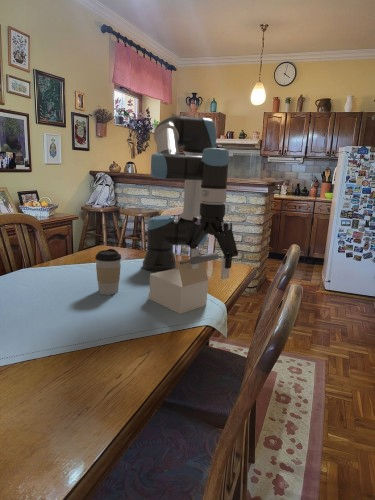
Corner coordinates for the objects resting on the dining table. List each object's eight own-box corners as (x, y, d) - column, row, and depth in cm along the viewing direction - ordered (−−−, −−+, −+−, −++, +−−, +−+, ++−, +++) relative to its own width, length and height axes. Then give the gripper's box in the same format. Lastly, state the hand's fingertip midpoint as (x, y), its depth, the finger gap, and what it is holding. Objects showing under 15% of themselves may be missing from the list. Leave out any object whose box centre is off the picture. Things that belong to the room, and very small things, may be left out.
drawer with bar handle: (201, 255, 118) (218, 251, 113) (207, 280, 118) (223, 277, 112) (177, 260, 111) (193, 256, 105) (182, 286, 111) (199, 284, 105)
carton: (174, 291, 132) (175, 267, 130) (206, 305, 121) (208, 280, 118) (148, 298, 124) (148, 273, 122) (180, 314, 112) (181, 287, 110)
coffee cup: (115, 297, 124) (115, 255, 120) (91, 293, 125) (90, 252, 122) (124, 288, 132) (125, 249, 129) (102, 285, 134) (101, 247, 131)
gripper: (175, 199, 110) (173, 266, 115) (237, 208, 93) (231, 285, 98) (193, 198, 116) (190, 262, 120) (254, 206, 98) (248, 280, 103)
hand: (208, 273), depth 109 cm, fingers open, 12 cm apart
